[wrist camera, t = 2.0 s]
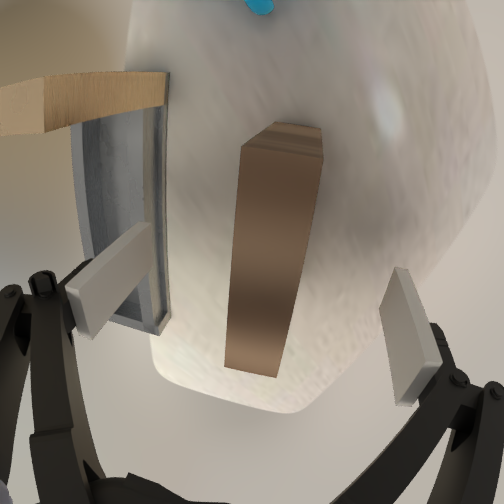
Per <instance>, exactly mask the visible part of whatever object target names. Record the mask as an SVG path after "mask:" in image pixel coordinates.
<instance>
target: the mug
mask: <svg viewBox="0 0 504 504" xmlns="http://www.w3.org/2000/svg"><path fill="white" fill-rule="evenodd" d="M244 1H245V2H246V4H247V5H248V7H249V8H250V9H251V11H252V12H254V13H255V14H257V15H265V14H268V13H270V12H271V11H272V10H273V9H274V4H273V2H272V0H244Z"/></svg>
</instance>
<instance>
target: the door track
mask: <svg viewBox="0 0 504 504" xmlns="http://www.w3.org/2000/svg"><path fill="white" fill-rule="evenodd" d="M169 74H170V73H166V72H90V73H74V74H62V75H52V76H43V77H39V78H35V79H30V80H26V81H22V82H19V83H15V84H11V85H8V86H4V87H1V88H0V136H9V135H21V134H36V133H46V132H49V131H53V130H56V129H59V128H63V127H66V126H70V125H71V148H72V149H71V150H72V165H73V176H74V186H75V196H76V205H77V212H78V220H79V226H80V233H81V239H82V245H83V251H84V256H85V261H86V260H88V259H90V258H93V259H95V258H96V257H97V256H98V255H99V254H100V253H101V252H103V251H104V250H105V249H106V248H107V247H108V246H110V245H111V244H112V243H113V242H114V241H115V240H117V239H118V238H119V237H120V236H121V235H123V234H124V233H125V232H126V231H127V230H129V229H130V228H131V227H132V226H133V225H135V224H136V223H137V222H138V221H142V222H148V223H151V236H152V255H153V267H152V268H151V269H150V270H149V272H148V273H147V274H146V275H145V276H144V277H143V279H142V280H141V281H140V282H139V283H138V285H137V286H136V287H135V288H134V289H133V290H132V292H131V293H130V294H129V295H128V296H127V298H126V299H125V300H124V301H123V303H122V304H121V305H120V306H119V307H118V309H117V310H116V311H115V312H114V314H113V315H112V316H111V317H110V319H109V321H112V322H115V323H118V324H121V325H124V326H128V327H131V328H134V329H137V330H141V331H144V332H147V333H150V334H154V335H157V336H160V335H161V333H162V331H163V330H164V328H165V326H166V325H167V323H168V321H169V320H170V318H171V312H170V299H169V283H168V265H167V242H166V195H165V174H166V128H167V105H168V88H169Z"/></svg>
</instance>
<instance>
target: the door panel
mask: <svg viewBox="0 0 504 504" xmlns="http://www.w3.org/2000/svg"><path fill="white" fill-rule="evenodd" d="M322 165H323V147H322V136H321V129H319V128H314V127H308V126H302V125H295V124H289V123H282V122H274V123H273V124H272V125H270V126H269V127H267V128H266V129H264V130H263V131H262V132H260V133H259V134H257V135H256V136H255V137H253V138H252V139H250V140H249V141H248V142H246V143H245V144H244V145H242V146H241V156H240V166H239V178H238V189H237V200H236V212H235V224H234V237H233V249H232V262H231V275H230V289H229V303H228V317H227V332H226V347H225V363H224V367H227V368H231V369H236V370H240V371H245V372H249V373H254V374H259V375H264V376H269V377H274V378H277V374H278V370H279V366H280V362H281V358H282V354H283V350H284V346H285V342H286V338H287V334H288V330H289V326H290V321H291V317H292V313H293V309H294V304H295V300H296V296H297V291H298V287H299V282H300V278H301V273H302V268H303V264H304V259H305V254H306V249H307V244H308V240H309V235H310V230H311V225H312V219H313V214H314V209H315V204H316V198H317V193H318V187H319V182H320V176H321V171H322Z"/></svg>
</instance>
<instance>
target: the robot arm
mask: <svg viewBox="0 0 504 504" xmlns="http://www.w3.org/2000/svg"><path fill="white" fill-rule="evenodd" d="M152 267H153V255H152V236H151V223H148V222H142V221H138V222H137V223H136V224H135V225H133V226H132V227H131V228H130V229H129V230H127V231H126V232H125V233H124V234H123V235H121V236H120V237H119V238H118V239H117V240H115V241H114V242H113V243H112V244H111V245H110V246H108V247H107V248H106V249H105V250H104V251H103V252H101V253H100V254H99V255H98V256H97V257H96V258H95V259H93V258H90V259H88V260H86V261H84V262H82V263H81V264H80V265H79V266H78V267H77V268H76V269H74V270H73V271H72V272H71V273H70V274H69V275H68V276H66V277H65V278H64V279H63V280H62V281H61V282H60V283H59V284H57V281H56V277H55V274H54V273H53V272H52V271H48V270H46V271H45V270H44V271H40V272H37V273H35V274H33V275H32V276H31V277H30V278H29V280H28V283H29V286H30V289H31V292H32V295H28V294H23V291H22V288H21V286H19V285H16V284H13V285H8V286H6V287H4V288H3V289H2V290H1V291H0V504H13V503H12V499H11V497H10V496H9V491H8V489H7V483H8V478H9V474H10V468H11V461H12V452H13V444H14V437H15V430H16V424H17V418H18V412H19V407H20V402H21V397H22V392H23V388H24V384H25V379H26V375H27V371H28V367H29V363H30V371H31V394H32V409H33V419H34V429H35V430H34V431H35V432H34V434H31V435H30V437H29V443H30V451H31V457H32V464H33V470H34V475H35V481H36V485H37V490H38V495H39V499H40V502H39V503H37V504H229V503H218V502H193V501H188V500H185V499H183V498H182V497H180V496H178V495H176V494H174V493H173V492H171V491H170V490H168V489H166V488H165V487H163V486H161V485H160V484H158V483H155V482H153V481H150V480H147V479H144V478H142V477H139V476H136V475H134V474H131V473H128V475H127V477H126V478H119V477H111V478H106V476H105V473H104V472H103V469H102V468H101V465H100V463H99V460H98V457H97V454H96V450H95V447H94V443H93V439H92V435H91V431H90V427H89V424H88V419H87V415H86V410H85V405H84V401H83V397H82V391H81V385H80V380H79V374H78V368H77V361H76V354H75V347H74V339H73V334H72V330H73V329H74V327H75V326H76V327H77V331H78V334H79V336H82V337H84V338H87V339H90V340H93V339H94V337H95V336H96V335H97V334H98V332H99V331H100V330H101V329H102V327H103V326H104V325H105V323H106V322H107V321H108V320H109V319H110V317H111V316H112V315H113V314H114V312H115V311H116V310H117V309H118V307H119V306H120V305H121V304H122V303H123V301H124V300H125V299H126V298H127V296H128V295H129V294H130V293H131V292H132V290H133V289H134V288H135V287H136V286H137V285H138V283H139V282H140V281H141V280H142V279H143V277H144V276H145V275H146V274H147V273H148V272H149V270H150V269H151V268H152ZM379 311H380V316H381V321H382V326H383V331H384V336H385V341H386V346H387V352H388V357H389V363H390V369H391V376H392V382H393V389H394V396H395V404H396V406H408V407H412V405H413V404H414V403H415V401H416V400H417V399H418V400H419V405H420V406H419V407H418V408H417V410H416V411H415V412H414V413H413V415H412V416H411V417H410V418H409V420H408V421H407V423H406V424H405V425H404V426H403V428H402V429H401V430H400V431H399V432H398V434H397V435H396V436H395V437H394V438H393V440H392V441H391V442H390V443H389V444H388V445H387V446H386V448H385V449H384V450H383V451H382V452H381V453H380V454H379V456H378V457H377V458H376V459H375V460H374V461H373V462H372V463H371V464H370V465H369V466H368V467H367V468H366V469H365V470H364V471H363V472H362V473H361V474H360V475H359V476H358V477H357V478H356V479H355V481H353V482H352V483H351V484H350V485H349V486H348V487H347V488H346V489H345V490H344V491H343V492H342V493H341V494H340V495H339V496H337V497H336V498H335V499H334V500H333V501H332V502H331V503H330V504H393V503H394V502H395V501H396V500H397V498H398V497H399V496H400V495H401V493H402V492H403V491H404V490H405V489H406V487H407V486H408V485H409V483H410V482H411V481H412V479H413V478H414V477H415V476H416V474H417V473H418V472H419V470H420V469H421V467H422V466H423V465H424V463H425V462H426V460H427V459H428V457H429V456H430V454H431V453H432V451H433V450H434V448H435V447H436V445H437V444H438V442H439V441H440V439H441V438H442V436H443V434H444V433H445V431H446V429H447V428H451V429H452V431H451V435H450V438H449V441H448V445H447V448H446V452H445V455H444V458H443V461H442V464H441V467H440V470H439V473H438V476H437V479H436V481H435V484H434V487H433V489H432V492H431V495H430V497H429V499H428V502H427V504H493V501H494V497H495V492H496V488H497V483H498V478H499V473H500V468H501V462H502V455H503V448H504V387H503V386H502V385H501V384H500V383H498V382H494V381H490V382H488V383H487V384H486V385H485V386H484V388H481V387H478V386H475V385H473V384H470V380H469V378H468V376H467V375H466V374H465V373H464V372H463V371H462V370H460V369H458V368H456V366H455V363H454V360H453V357H452V354H451V351H450V349H449V347H448V343H447V341H446V338H445V336H444V333H443V331H442V330H441V328H440V327H439V326H438V325H437V324H436V323H429V321H428V318H427V316H426V313H425V310H424V308H423V305H422V303H421V300H420V298H419V295H418V293H417V290H416V288H415V285H414V283H413V280H412V278H411V276H410V273H409V271H408V269H403V268H398V267H395V268H394V271H393V274H392V276H391V279H390V282H389V284H388V287H387V290H386V292H385V295H384V298H383V300H382V303H381V305H380V308H379Z"/></svg>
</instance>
